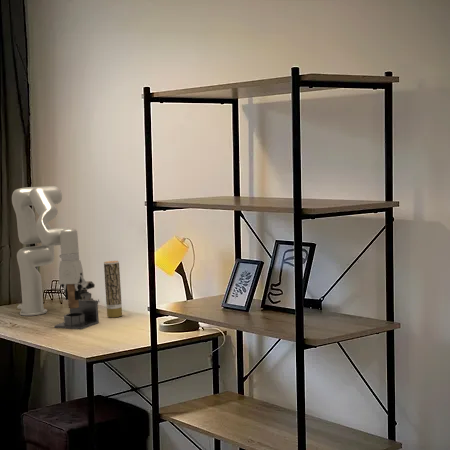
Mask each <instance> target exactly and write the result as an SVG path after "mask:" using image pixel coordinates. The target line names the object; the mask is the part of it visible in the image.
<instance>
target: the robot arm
mask: <svg viewBox="0 0 450 450" xmlns="http://www.w3.org/2000/svg"><path fill="white" fill-rule="evenodd" d="M62 200H63V194H62V192H61V189H60V188H59V187H58V186H56V185H48V186H45V185H43V186H29V187H21V188H16V189H14V191H13V192H12V195H11V204H12V206H13V210H14V212H15V215H16V223H17V224H16V225H17V237H18V239H19V242H20V243H21V244H22V245H33V244H39V243H40V244H41V245H36V246H35V245H33V246H27V247H22V248H20V249H19V250H18V251H17V252H16V259H17V261H16V262H17V264H18V268H19V274H20V287H21V291H20V292H21V303H18V305H17V306H16V309H18V310H20V311H19V315H20V316H23V317H24V316H25V317H29V316H30V317H31V316H40V315H44V314H46V313H48V309H46V308H44V299H43V297H44V295H43V281H42V275H41V273H40V271H39V270H38V269H37V267H41V266H49V265H51V264H53V263H54V262H55V247H56V246H60V255H59V258H60V259H61V260H60V261H59V266H58V281H57V284H58V285H59V286H61V288H62V289H63V291H64V296H65V300H66V301H68V293H67V284H74V285H75V289H76V291H75V300H79V299H81V291H80V290H81V289H82V287H83V286H84V285H85V284H86V281H87V280H85V278H84V271H83V266H82V261H81V259H80V252H79V251H80V248H79V236H78V230H77V229H76V228H70V227H55V228H54V227H53V228H52V226H51V225H50V224H49V223H50V222H51V221H53V220H54V219H55V218H56V217H58V216H57V215H58V214H59V213H58V208H57V206H56V205H58V204H60V203H61V202H62ZM30 206H33V208H34V209H35V211H34V210H33V208H32V207H30ZM35 212H36V213H37V215H38V218H37V220H36V213H35ZM54 246H55V247H54ZM80 283H81V284H80Z"/></svg>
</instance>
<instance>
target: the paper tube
mask: <svg viewBox="0 0 450 450" xmlns="http://www.w3.org/2000/svg"><path fill="white" fill-rule="evenodd" d="M103 269H104V270H103V271H104V286H105V287H104V288H105V289H104V290H105V301H106V302H105V304H106V316H107V317H108V318H114V319H115V318H120V317H122V315H123V304H122V290H121V289H122V287H121V275H120V274H121V273H120V271H121V270H120V261H119V260H108V261H104V262H103Z"/></svg>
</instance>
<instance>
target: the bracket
mask: <svg viewBox="0 0 450 450" xmlns="http://www.w3.org/2000/svg"><path fill="white" fill-rule="evenodd" d="M78 301H79V307H78V308H69V313H66V314H64V315H63V322H60V323H58V324H55V325H54V327H53V328H55V329H68V330H83V329H87V328H90V327H92V326H94V325H97V324H99V310H98V309H99V302H98V303H97V301H98V300H96V299H93V300H78Z"/></svg>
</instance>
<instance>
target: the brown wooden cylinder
mask: <svg viewBox="0 0 450 450" xmlns="http://www.w3.org/2000/svg"><path fill="white" fill-rule="evenodd" d="M75 291H76V289H75V285H74V284H67V293H68V300H67V303H68V304H67V305H68V309H70V308H78V307H79V301H78V300H75Z"/></svg>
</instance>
